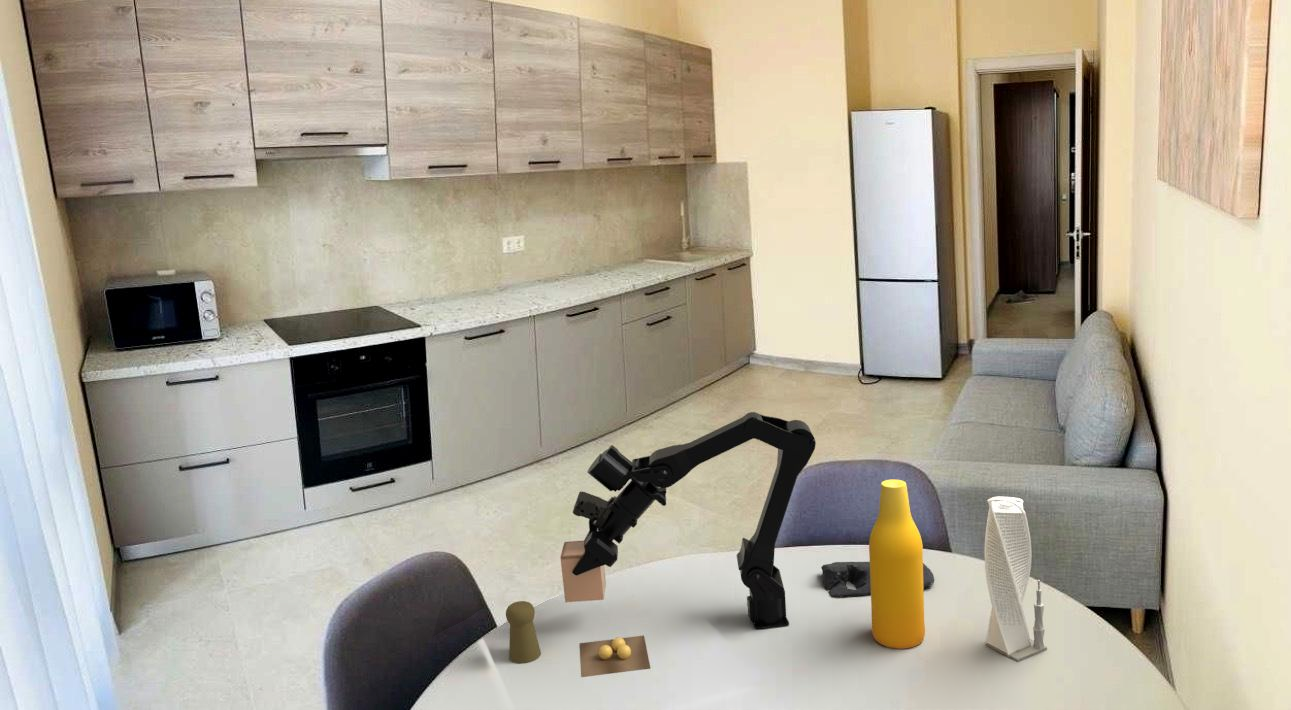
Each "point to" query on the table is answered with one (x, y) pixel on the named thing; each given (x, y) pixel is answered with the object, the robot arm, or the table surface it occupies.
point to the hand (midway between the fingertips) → (576, 565)
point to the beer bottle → (896, 571)
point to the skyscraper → (1010, 580)
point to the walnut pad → (613, 657)
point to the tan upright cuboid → (580, 576)
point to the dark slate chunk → (856, 578)
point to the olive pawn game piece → (522, 633)
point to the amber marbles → (618, 646)
